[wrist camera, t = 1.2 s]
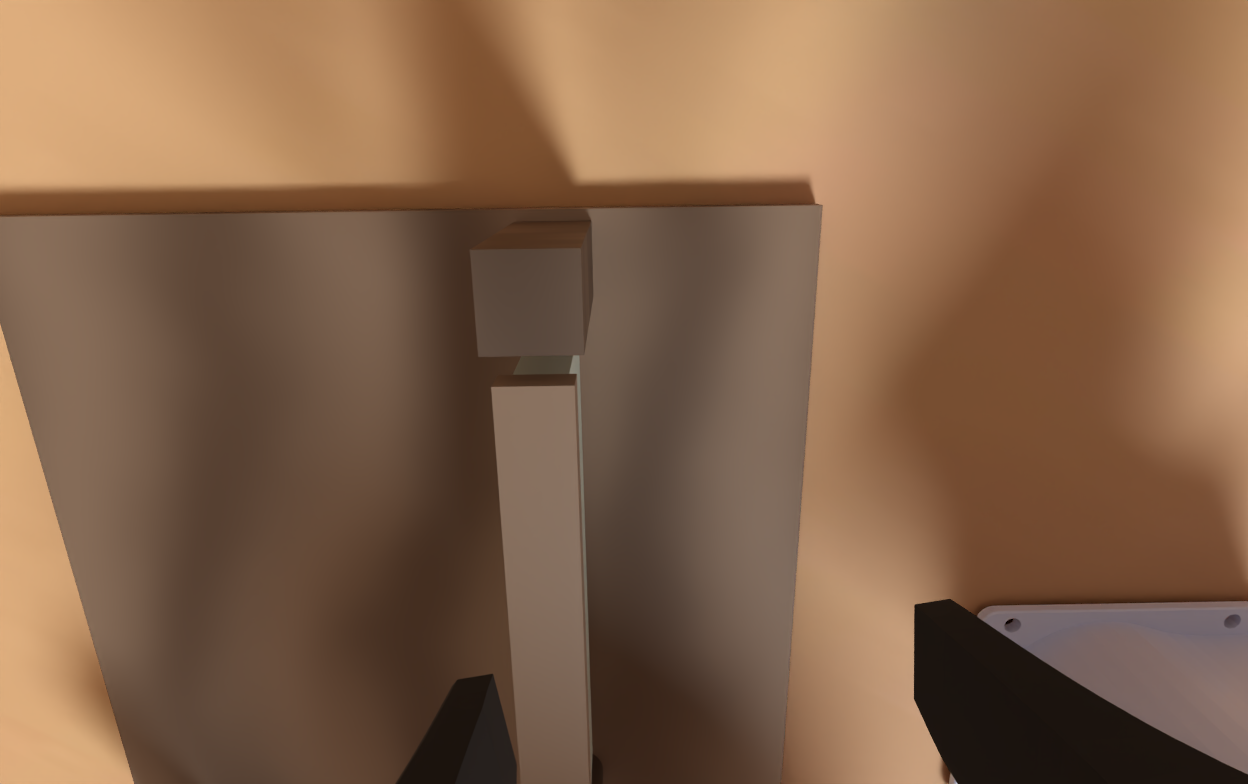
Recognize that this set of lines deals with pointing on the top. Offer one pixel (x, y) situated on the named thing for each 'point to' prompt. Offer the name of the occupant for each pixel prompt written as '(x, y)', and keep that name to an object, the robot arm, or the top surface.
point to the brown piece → (416, 471)
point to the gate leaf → (545, 565)
